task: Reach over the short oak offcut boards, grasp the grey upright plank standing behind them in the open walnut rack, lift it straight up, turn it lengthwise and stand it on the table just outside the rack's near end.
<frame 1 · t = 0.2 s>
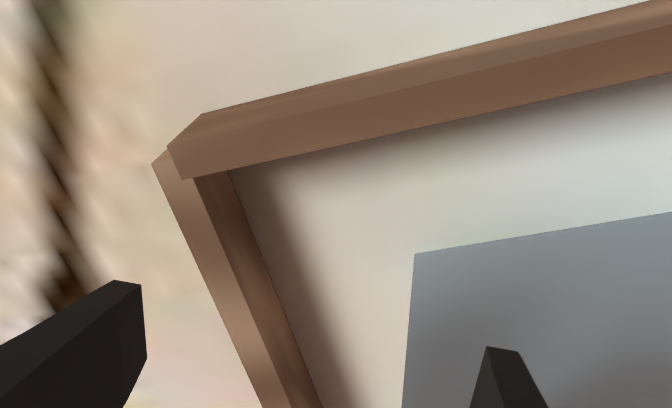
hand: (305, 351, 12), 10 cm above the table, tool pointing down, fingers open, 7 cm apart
grey upright plank: (557, 254, 21), resting in rack
rack: (568, 321, 22), on the table
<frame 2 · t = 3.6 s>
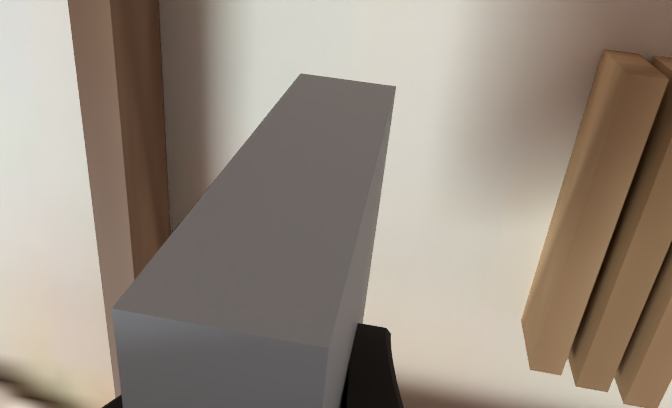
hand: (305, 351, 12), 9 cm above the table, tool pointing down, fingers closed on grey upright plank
grey upright plank: (327, 277, 15), point 6 cm above the table, touching gripper
offcut stack: (615, 207, 20), on the table
rack: (447, 185, 20), on the table
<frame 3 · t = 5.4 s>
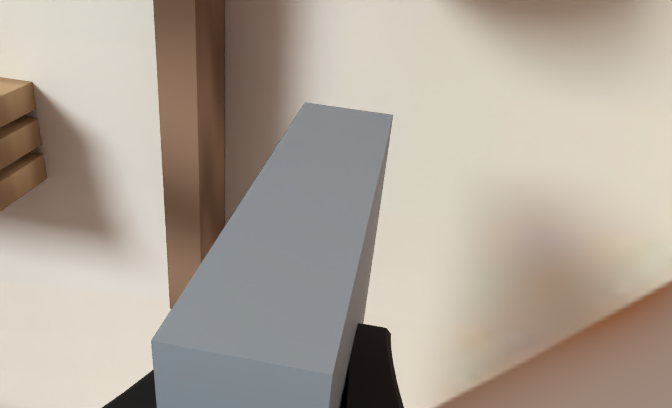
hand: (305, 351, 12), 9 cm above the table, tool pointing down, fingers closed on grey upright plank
grey upright plank: (330, 287, 16), point 6 cm above the table, touching gripper
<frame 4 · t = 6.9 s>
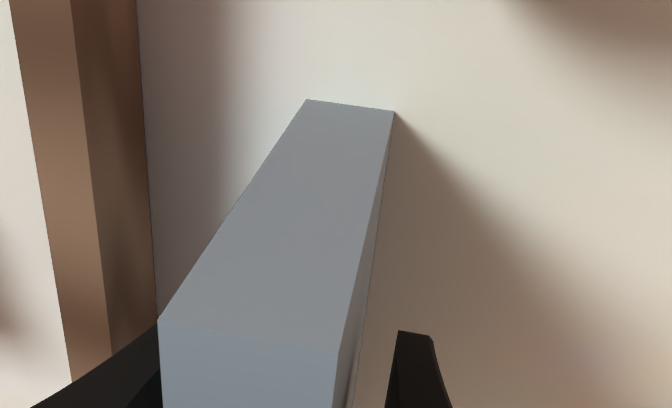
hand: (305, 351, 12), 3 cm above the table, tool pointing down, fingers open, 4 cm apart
grey upright plank: (331, 284, 16), on the table
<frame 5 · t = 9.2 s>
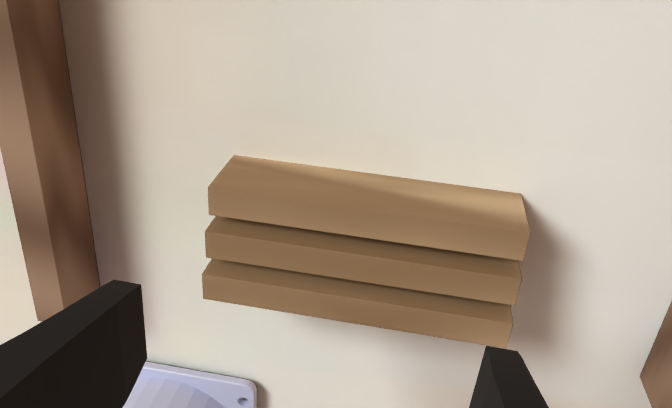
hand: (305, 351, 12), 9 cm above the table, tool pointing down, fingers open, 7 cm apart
offcut stack: (368, 218, 22), on the table
rack: (384, 71, 19), on the table
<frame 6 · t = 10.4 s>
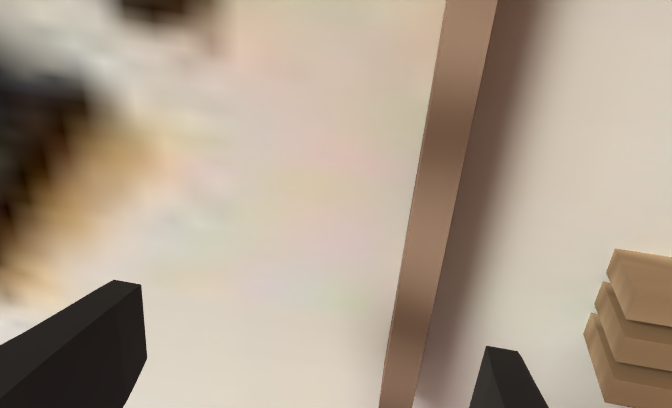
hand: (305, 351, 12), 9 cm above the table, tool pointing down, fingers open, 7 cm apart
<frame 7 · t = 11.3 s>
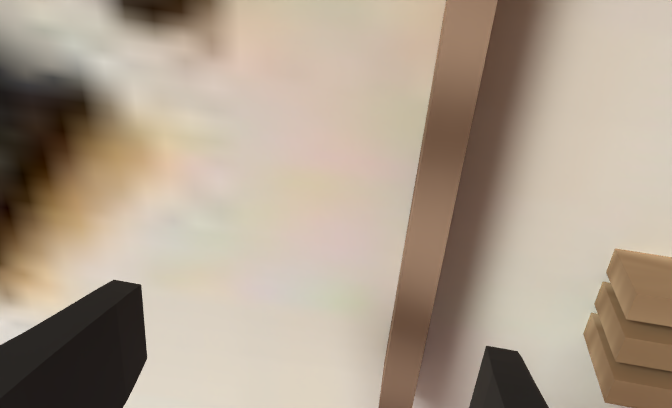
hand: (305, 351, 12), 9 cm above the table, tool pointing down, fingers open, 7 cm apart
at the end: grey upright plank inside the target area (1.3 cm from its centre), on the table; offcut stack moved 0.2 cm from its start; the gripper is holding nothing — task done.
